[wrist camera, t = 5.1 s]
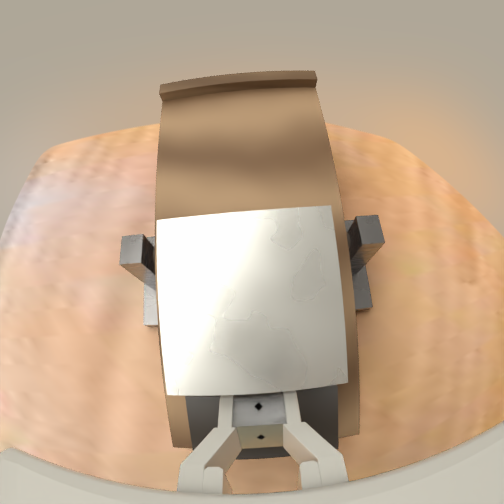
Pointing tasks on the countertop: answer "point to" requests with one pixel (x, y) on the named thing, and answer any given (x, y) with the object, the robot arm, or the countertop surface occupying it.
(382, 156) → the countertop surface
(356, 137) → the countertop surface
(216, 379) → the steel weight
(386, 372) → the countertop surface
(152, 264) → the balance stand
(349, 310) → the board
